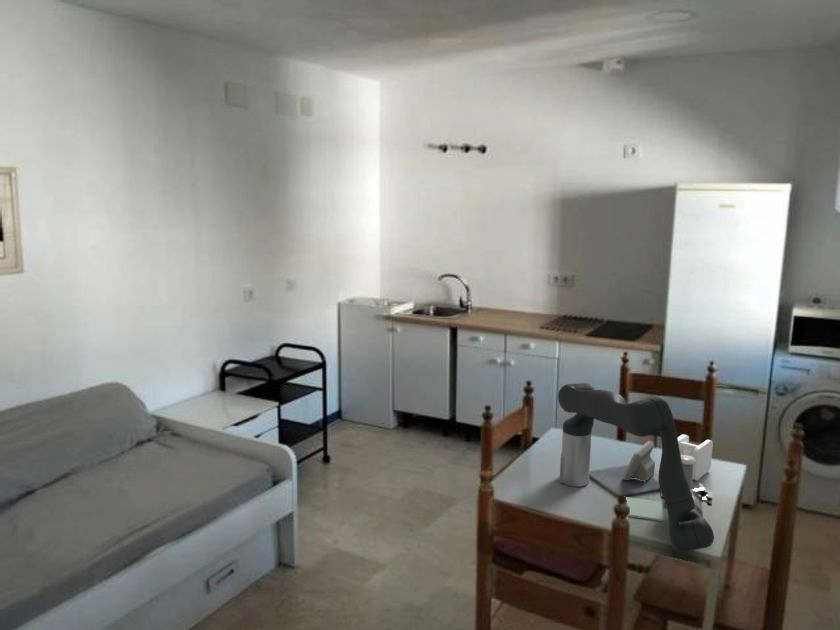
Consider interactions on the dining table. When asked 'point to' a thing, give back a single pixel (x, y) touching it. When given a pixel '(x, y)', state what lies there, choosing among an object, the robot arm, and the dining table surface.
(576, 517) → the dining table surface
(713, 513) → the dining table surface
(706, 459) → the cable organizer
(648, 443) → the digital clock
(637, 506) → the green mat
